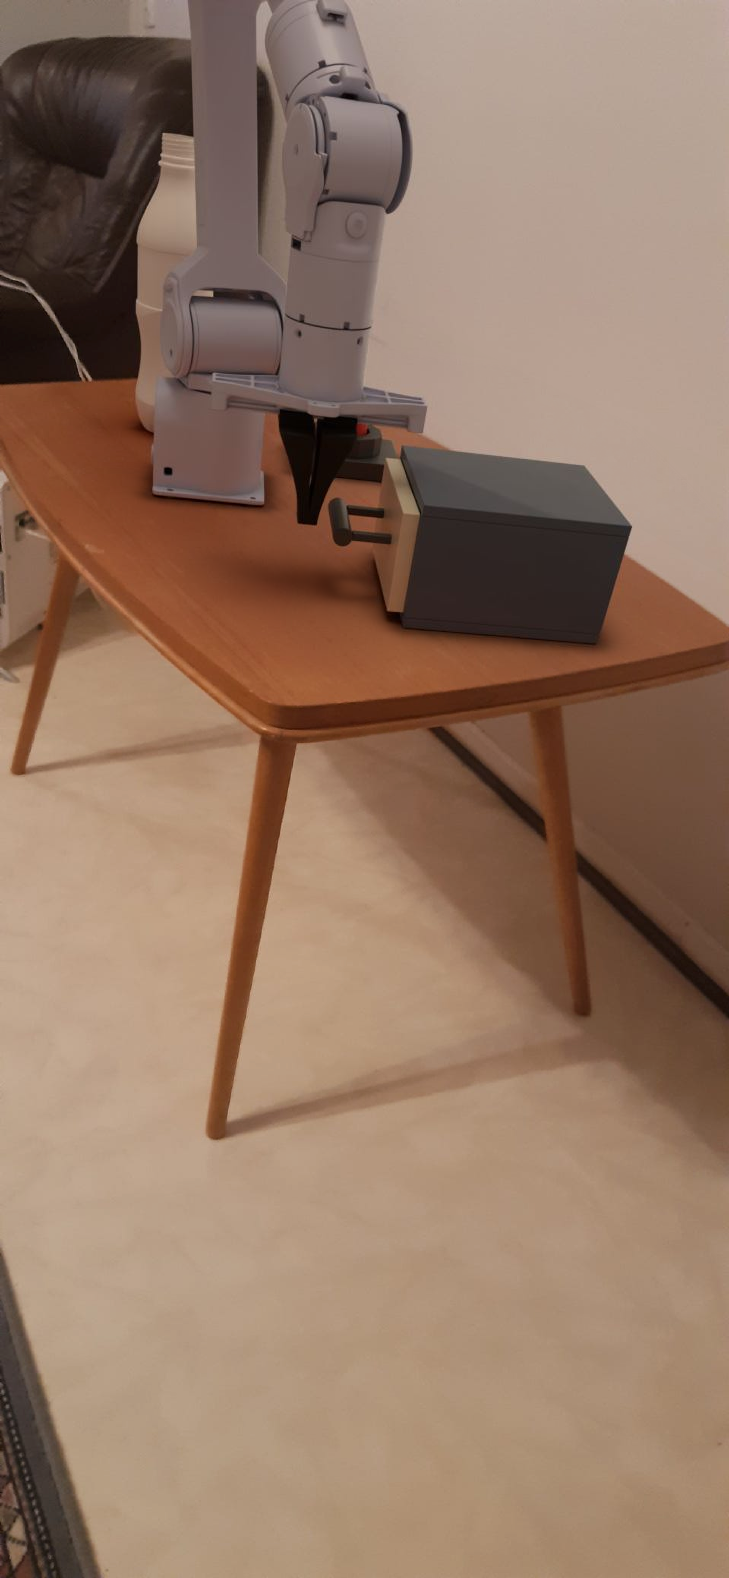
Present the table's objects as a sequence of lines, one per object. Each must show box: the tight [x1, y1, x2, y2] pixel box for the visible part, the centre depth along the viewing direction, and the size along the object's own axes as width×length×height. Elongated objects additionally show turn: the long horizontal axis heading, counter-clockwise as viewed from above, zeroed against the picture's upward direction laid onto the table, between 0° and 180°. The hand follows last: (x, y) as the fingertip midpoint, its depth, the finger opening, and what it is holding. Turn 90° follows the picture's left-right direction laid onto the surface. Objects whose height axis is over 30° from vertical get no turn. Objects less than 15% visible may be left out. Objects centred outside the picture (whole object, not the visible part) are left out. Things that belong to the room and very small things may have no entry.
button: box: [357, 423, 368, 436], centre depth 99 cm, size 4×4×2 cm
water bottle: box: [134, 132, 214, 434], centre depth 95 cm, size 7×7×25 cm
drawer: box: [327, 458, 421, 613], centre depth 76 cm, size 18×11×7 cm, turn 95°
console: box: [311, 420, 399, 483], centre depth 100 cm, size 10×8×4 cm
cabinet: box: [398, 444, 633, 645], centre depth 77 cm, size 15×13×9 cm
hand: (306, 519), depth 74 cm, fingers closed
